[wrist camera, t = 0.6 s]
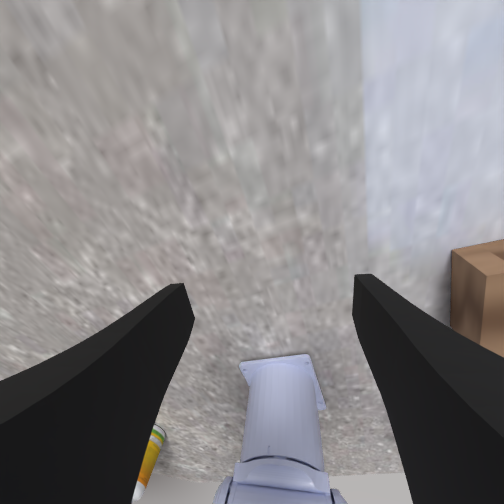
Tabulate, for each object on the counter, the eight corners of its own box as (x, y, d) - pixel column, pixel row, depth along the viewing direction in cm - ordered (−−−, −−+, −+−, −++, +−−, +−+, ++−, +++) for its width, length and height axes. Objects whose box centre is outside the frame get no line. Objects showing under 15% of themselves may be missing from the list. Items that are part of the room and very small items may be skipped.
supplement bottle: (151, 418, 36) (110, 509, 27) (172, 437, 38) (140, 527, 29) (126, 423, 38) (79, 511, 29) (147, 441, 40) (110, 528, 31)
